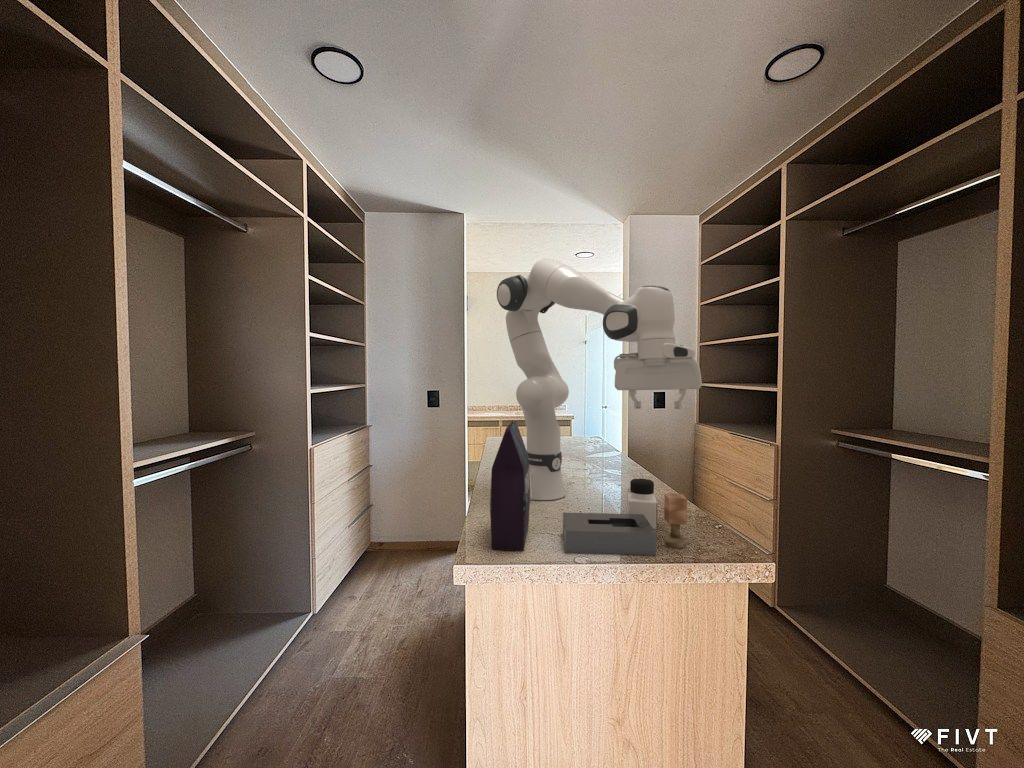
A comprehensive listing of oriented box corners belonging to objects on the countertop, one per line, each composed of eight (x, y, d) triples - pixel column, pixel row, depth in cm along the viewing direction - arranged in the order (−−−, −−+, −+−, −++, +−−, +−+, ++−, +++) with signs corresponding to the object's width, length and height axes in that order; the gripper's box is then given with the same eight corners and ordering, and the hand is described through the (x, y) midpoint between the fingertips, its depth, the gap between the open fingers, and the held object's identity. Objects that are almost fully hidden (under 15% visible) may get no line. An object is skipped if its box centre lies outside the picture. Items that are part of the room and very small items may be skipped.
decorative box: (530, 527, 118) (530, 420, 117) (525, 552, 102) (525, 428, 101) (499, 525, 119) (499, 420, 118) (489, 550, 102) (489, 428, 102)
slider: (668, 548, 104) (668, 498, 104) (662, 541, 109) (663, 493, 108) (687, 548, 104) (688, 498, 104) (681, 541, 108) (682, 493, 108)
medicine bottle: (656, 529, 116) (657, 483, 116) (628, 527, 118) (629, 482, 117) (653, 520, 123) (654, 477, 123) (627, 518, 125) (627, 475, 124)
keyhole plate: (565, 552, 101) (565, 530, 101) (562, 531, 114) (562, 512, 114) (656, 555, 100) (656, 533, 100) (642, 534, 113) (643, 514, 113)
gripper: (610, 353, 112) (612, 409, 112) (700, 349, 103) (701, 409, 103) (616, 354, 117) (617, 407, 117) (701, 350, 108) (702, 407, 109)
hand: (657, 408), depth 110 cm, fingers open, 8 cm apart
